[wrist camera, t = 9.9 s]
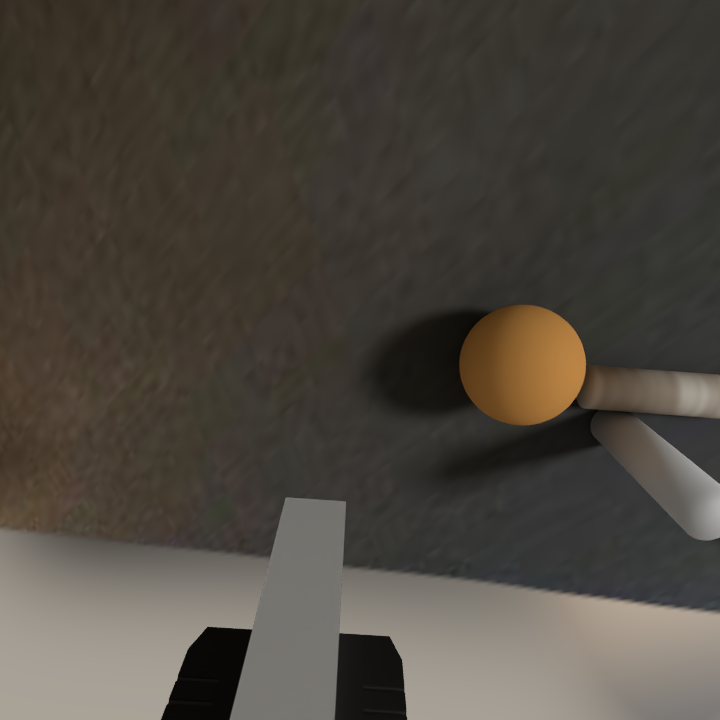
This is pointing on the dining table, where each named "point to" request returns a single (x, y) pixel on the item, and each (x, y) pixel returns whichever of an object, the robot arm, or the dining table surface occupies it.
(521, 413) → the ball
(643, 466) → the pin
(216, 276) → the dining table surface
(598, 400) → the pin
